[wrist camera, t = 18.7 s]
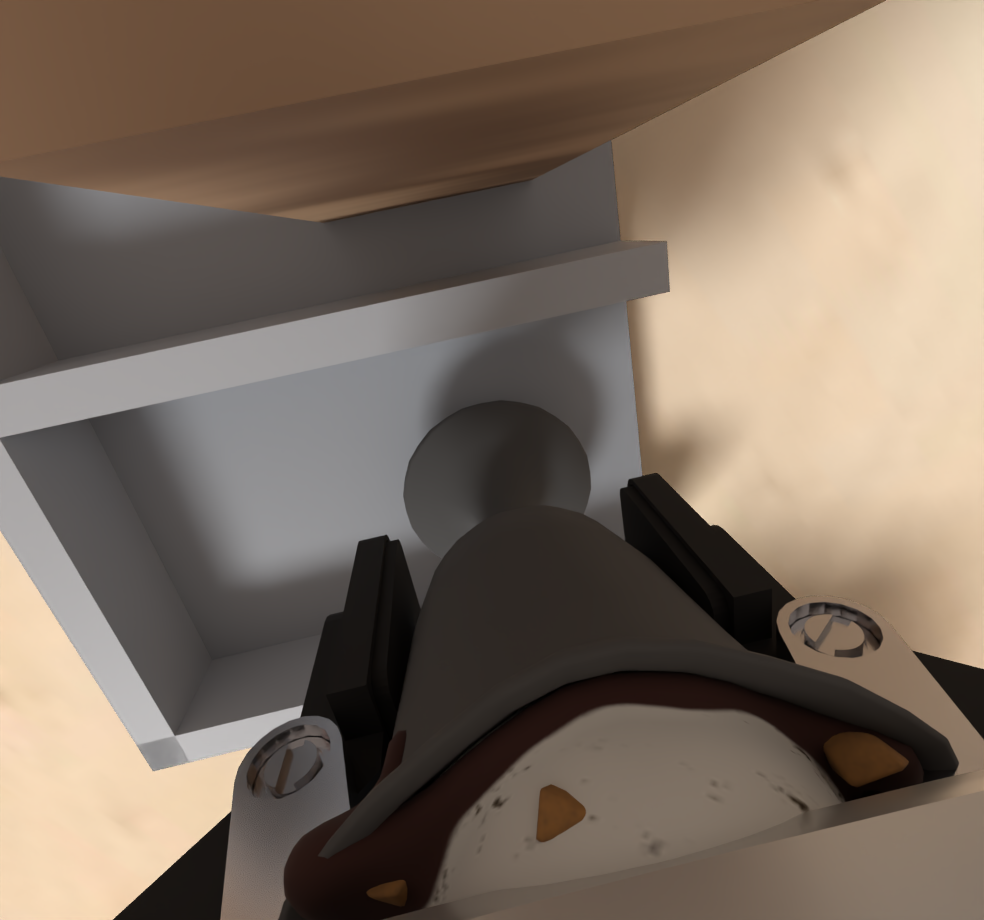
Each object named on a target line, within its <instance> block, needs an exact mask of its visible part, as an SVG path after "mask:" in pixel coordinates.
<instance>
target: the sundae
mask: <svg viewBox="0 0 984 920" xmlns="http://www.w3.org/2000/svg"><path fill="white" fill-rule="evenodd" d="M590 491H591V476H590V468H589V463H588V457H587V454H586V452H585V451H584V449H583V447H582V445H581V443H580V441H579V440H578V438H577V437H576V436H575V434H574V433H573V431H572V430H571V429H570V427H569V426H568V425H566V424H565V423H564V422H562V421H561V420H560V419H558V418H557V417H556V416H554V415H552V414H551V413H549V412H547V411H545V410H544V409H542V408H540V407H538V406H534V405H530V404H525V403H521V402H514V401H505V400H498V401H491V402H485V403H480V404H476V405H472V406H469V407H465V408H462V409H460V410H459V411H457V412H455V413H453V414H452V415H450V416H448V417H447V418H445V419H444V420H442V421H441V422H440V423H438V424H437V425H436V426H434V427H433V428H432V429H430V430H429V432H428V433H427V434H426V436H425V437H424V438H423V440H422V441H421V442H420V443H419V445H418V446H417V448H416V450H415V452H414V453H413V455H412V457H411V459H410V460H409V463H408V467H407V471H406V476H405V482H404V492H403V498H404V503H405V508H406V512H407V515H408V518H409V521H410V524H411V527H412V529H413V530H414V531H415V533H416V534H417V536H418V537H419V538H420V540H421V541H422V542H423V543H424V544H425V545H426V546H427V547H428V548H429V549H430V551H431V552H432V553H433V554H435V555H437V556H438V557H440V558H442V560H441V562H440V564H439V565H438V567H437V568H436V570H435V572H434V575H433V577H432V580H431V583H430V586H429V588H428V591H427V594H426V597H425V599H424V602H423V605H422V608H421V610H420V614H419V617H418V620H417V623H416V626H415V630H414V633H413V638H412V643H411V648H410V653H409V658H408V663H407V667H406V672H405V677H404V682H403V687H402V692H401V697H400V702H399V707H398V712H397V717H396V722H395V727H394V732H393V737H392V740H391V741H390V743H389V745H388V749H387V753H386V757H385V762H384V766H383V770H382V773H381V776H380V778H379V780H378V781H377V783H376V784H375V786H374V788H373V789H372V790H371V791H370V792H369V793H368V795H367V796H366V797H365V798H364V799H363V800H362V801H361V802H360V803H359V804H358V805H356V806H355V807H353V808H352V809H350V810H348V811H346V812H344V813H342V814H340V815H338V816H336V817H334V818H332V819H330V820H328V821H326V822H324V823H322V824H320V825H319V826H317V827H316V828H314V829H312V830H311V831H309V832H308V833H306V834H305V835H303V836H302V837H301V838H300V840H299V841H298V842H297V843H296V845H295V846H294V847H293V849H292V851H291V853H290V855H289V857H288V860H287V862H286V865H285V868H284V879H283V884H284V894H285V897H286V899H285V901H284V903H283V906H282V909H281V912H280V915H279V919H278V920H383V919H387V918H390V917H394V916H398V915H402V914H406V913H410V912H414V911H417V910H421V909H425V908H429V907H433V906H437V905H441V904H444V903H448V902H452V901H456V900H460V899H464V898H467V897H471V896H475V895H479V894H483V893H487V892H491V891H494V890H501V889H512V888H521V887H529V886H538V885H546V884H552V883H558V882H563V881H569V880H574V879H580V878H586V877H592V876H598V875H603V874H608V873H612V872H617V871H622V870H626V869H631V868H636V867H640V866H645V865H650V864H654V863H659V862H663V861H667V860H671V859H674V858H678V857H681V856H685V855H688V854H692V853H695V852H699V851H703V850H706V849H709V848H713V847H716V846H719V845H722V844H725V843H728V842H731V841H735V840H738V839H741V838H744V837H747V836H750V835H753V834H755V833H758V832H761V831H763V830H766V829H768V828H771V827H773V826H776V825H778V824H781V823H783V822H785V821H787V820H789V819H791V818H793V817H795V816H797V815H799V814H801V813H804V812H808V811H812V810H816V809H820V808H824V807H828V806H832V805H836V804H840V803H844V802H848V801H852V800H856V799H860V798H861V796H862V794H863V791H866V790H874V791H880V792H883V793H885V792H889V791H893V790H897V789H901V788H905V787H909V786H913V785H917V784H921V783H922V782H923V776H924V771H923V769H925V770H929V771H932V770H957V768H958V766H959V761H958V759H957V757H956V755H955V753H954V751H953V749H952V747H951V745H950V743H949V740H948V738H946V737H945V736H944V735H942V734H941V733H939V732H938V731H937V730H935V729H934V728H932V727H931V726H929V725H928V724H927V723H925V722H924V721H922V720H921V719H919V718H918V717H917V716H915V715H914V714H912V713H911V712H909V711H908V710H906V709H904V708H902V707H900V706H898V705H896V704H894V703H893V702H891V701H889V700H887V699H885V698H883V697H881V696H879V695H877V694H875V693H873V692H871V691H869V690H868V689H866V688H864V687H862V686H860V685H858V684H856V683H854V682H852V681H850V680H848V679H845V678H843V677H840V676H837V675H833V674H830V673H826V672H823V671H820V670H816V669H813V668H809V667H806V666H802V665H799V664H796V663H792V662H789V661H785V660H782V659H778V658H775V657H772V656H768V655H764V654H760V653H756V652H751V651H748V650H747V649H745V648H744V647H743V646H742V645H741V644H740V643H739V642H737V641H736V640H735V639H734V638H733V637H732V636H731V635H729V634H728V633H727V632H726V631H725V630H724V629H723V628H722V627H721V626H720V625H719V624H718V623H717V622H716V621H715V620H714V619H712V618H711V617H710V616H709V615H708V614H707V613H706V612H705V611H704V610H703V609H702V608H701V607H700V606H699V605H698V604H697V603H696V602H695V601H694V600H693V599H692V598H690V597H689V596H688V595H687V594H686V593H685V592H684V591H683V590H682V589H681V588H680V587H679V586H678V585H677V584H676V583H675V582H674V581H673V580H672V579H671V578H669V577H668V576H667V575H666V574H665V573H664V572H663V571H662V570H661V569H660V568H659V567H658V566H657V565H656V564H655V563H654V562H653V561H652V560H651V559H649V558H648V557H647V556H645V555H644V554H642V553H641V552H640V551H638V550H637V549H635V548H634V547H633V546H631V545H630V544H628V543H627V542H626V541H624V540H623V539H621V538H620V537H619V536H617V535H616V534H614V533H613V532H612V531H610V530H609V529H607V528H606V527H605V526H603V525H602V524H600V523H599V522H597V521H596V520H594V519H592V518H590V517H588V516H586V515H584V513H585V510H586V507H587V504H588V500H589V496H590Z"/></svg>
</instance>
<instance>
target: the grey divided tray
mask: <svg viewBox="0 0 984 920" xmlns="http://www.w3.org/2000/svg"><path fill="white" fill-rule="evenodd" d="M666 292H670V286H669V270H668V254H667V241H621V240H620V230H619V219H618V208H617V197H616V187H615V176H614V165H613V154H612V144H611V140H610V141H608V142H606V143H604V144H602V145H600V146H598V147H596V148H594V149H592V150H590V151H588V152H586V153H584V154H582V155H580V156H578V157H576V158H574V159H573V160H571V161H569V162H567V163H565V164H563V165H561V166H559V167H557V168H555V169H553V170H551V171H549V172H547V173H545V174H543V175H541V176H539V177H537V178H535V179H533V180H530V181H525V182H520V183H515V184H510V185H505V186H500V187H496V188H491V189H486V190H481V191H476V192H471V193H466V194H462V195H457V196H452V197H447V198H442V199H437V200H432V201H428V202H423V203H418V204H413V205H408V206H403V207H398V208H393V209H389V210H384V211H379V212H374V213H369V214H364V215H359V216H355V217H350V218H345V219H340V220H335V221H330V222H325V223H321V222H314V221H307V220H300V219H293V218H286V217H279V216H272V215H265V214H258V213H251V212H244V211H237V210H230V209H223V208H216V207H209V206H202V205H195V204H188V203H181V202H174V201H167V200H161V199H154V198H147V197H140V196H133V195H126V194H119V193H112V192H105V191H98V190H91V189H84V188H77V187H70V186H63V185H56V184H49V183H42V182H35V181H28V180H21V179H14V178H7V177H0V531H1V532H2V534H3V536H4V537H5V539H6V540H7V542H8V544H9V545H10V547H11V548H12V550H13V551H14V553H15V555H16V556H17V558H18V559H19V561H20V562H21V564H22V566H23V567H24V569H25V570H26V572H27V573H28V575H29V577H30V578H31V580H32V581H33V583H34V584H35V586H36V588H37V589H38V591H39V592H40V594H41V596H42V597H43V599H44V600H45V602H46V603H47V605H48V607H49V608H50V610H51V611H52V613H53V614H54V616H55V618H56V619H57V621H58V622H59V624H60V625H61V627H62V629H63V630H64V632H65V633H66V635H67V636H68V638H69V640H70V641H71V643H72V644H73V646H74V647H75V649H76V651H77V652H78V654H79V655H80V657H81V659H82V660H83V662H84V663H85V665H86V666H87V668H88V670H89V671H90V673H91V674H92V676H93V677H94V679H95V681H96V682H97V684H98V685H99V687H100V688H101V690H102V692H103V693H104V695H105V696H106V698H107V699H108V701H109V703H110V704H111V706H112V707H113V709H114V711H115V712H116V714H117V715H118V717H119V718H120V720H121V722H122V723H123V725H124V726H125V728H126V729H127V731H128V733H129V734H130V736H131V737H132V739H133V740H134V742H135V744H136V745H137V747H138V748H139V750H140V751H141V753H142V755H143V756H144V758H145V759H146V761H147V762H148V764H149V766H150V767H151V769H152V770H153V771H156V770H160V769H165V768H169V767H173V766H177V765H181V764H185V763H189V762H193V761H197V760H202V759H206V758H210V757H214V756H218V755H222V754H226V753H230V752H234V751H239V750H243V749H247V748H251V747H253V746H254V745H255V744H256V743H257V742H258V741H259V740H260V739H261V738H262V737H264V736H265V735H266V734H268V733H269V732H270V731H271V730H273V729H274V728H276V727H278V726H280V725H282V724H284V723H286V722H288V721H290V720H293V719H297V718H300V716H301V712H302V708H303V705H304V701H305V697H306V693H307V689H308V685H309V681H310V677H311V673H312V669H313V665H314V662H315V658H316V654H317V650H318V646H319V642H320V638H321V634H322V630H323V626H324V623H325V620H326V618H327V616H329V615H330V614H335V613H339V612H343V611H344V607H345V602H346V597H347V592H348V588H349V583H350V578H351V574H352V569H353V564H354V560H355V555H356V550H357V545H358V542H359V541H361V540H365V539H370V538H374V537H378V536H383V535H388V537H389V539H390V541H393V540H397V539H399V540H400V543H401V545H402V549H403V552H404V555H405V558H406V562H407V565H408V568H409V572H410V575H411V578H412V582H413V585H414V588H415V592H416V595H417V598H418V602H419V605H420V608H422V605H423V602H424V599H425V597H426V594H427V591H428V588H429V586H430V583H431V580H432V577H433V575H434V572H435V570H436V568H437V567H438V565H439V564H440V562H441V560H442V558H440V557H438V556H437V555H435V554H433V553H432V552H431V551H430V549H429V548H428V547H427V546H426V545H425V544H424V543H423V542H422V541H421V540H420V538H419V537H418V536H417V534H416V533H415V531H414V530H413V529H412V527H411V524H410V521H409V518H408V515H407V512H406V508H405V503H404V498H403V492H404V482H405V476H406V471H407V467H408V463H409V460H410V459H411V457H412V455H413V453H414V452H415V450H416V448H417V446H418V445H419V443H420V442H421V441H422V440H423V438H424V437H425V436H426V434H427V433H428V432H429V430H430V429H432V428H433V427H434V426H436V425H437V424H438V423H440V422H441V421H442V420H444V419H445V418H447V417H448V416H450V415H452V414H453V413H455V412H457V411H459V410H460V409H462V408H465V407H469V406H472V405H476V404H480V403H485V402H491V401H498V400H505V401H514V402H521V403H525V404H530V405H534V406H538V407H540V408H542V409H544V410H545V411H547V412H549V413H551V414H552V415H554V416H556V417H557V418H558V419H560V420H561V421H562V422H564V423H565V424H566V425H568V426H569V427H570V429H571V430H572V431H573V433H574V434H575V436H576V437H577V438H578V440H579V441H580V443H581V445H582V447H583V449H584V451H585V452H586V454H587V457H588V463H589V468H590V476H591V491H590V496H589V500H588V504H587V507H586V510H585V513H584V515H586V516H588V517H590V518H592V519H594V520H596V521H597V522H599V523H600V524H602V525H603V526H605V527H606V528H607V529H609V530H610V531H612V532H613V533H614V534H616V535H617V536H619V537H620V538H621V539H623V540H624V541H625V536H624V528H623V519H622V510H621V501H620V489H621V488H624V487H627V484H628V480H629V479H632V478H636V477H640V476H642V467H641V456H640V445H639V434H638V424H637V413H636V402H635V391H634V380H633V370H632V359H631V348H630V337H629V327H628V316H627V305H626V301H629V300H634V299H638V298H643V297H647V296H652V295H657V294H661V293H666Z"/></svg>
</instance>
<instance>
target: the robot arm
mask: <svg viewBox="0 0 984 920" xmlns="http://www.w3.org/2000/svg"><path fill="white" fill-rule="evenodd" d="M620 501H621V510H622V519H623V528H624V536H625V541H626V542H627V543H628V544H630V545H631V546H633V547H634V548H635V549H637V550H638V551H640V552H641V553H642V554H644V555H645V556H647V557H648V558H649V559H651V560H652V561H653V562H654V563H655V564H656V565H657V566H658V567H659V568H660V569H661V570H662V571H663V572H664V573H665V574H666V575H667V576H668V577H669V578H671V579H672V580H673V581H674V582H675V583H676V584H677V585H678V586H679V587H680V588H681V589H682V590H683V591H684V592H685V593H686V594H687V595H688V596H689V597H690V598H692V599H693V600H694V601H695V602H696V603H697V604H698V605H699V606H700V607H701V608H702V609H703V610H704V611H705V612H706V613H707V614H708V615H709V616H710V617H711V618H712V619H714V620H715V621H716V622H717V623H718V624H719V625H720V626H721V627H722V628H723V629H724V630H725V631H726V632H727V633H728V634H729V635H731V636H732V637H733V638H734V639H735V640H736V641H737V642H739V643H740V644H741V645H742V646H743V647H744V648H745V649H747V650H748V651H751V652H756V653H760V654H764V655H768V656H772V657H775V658H778V659H782V660H785V661H789V662H792V663H796V664H799V665H802V666H806V667H809V668H813V669H816V670H820V671H823V672H826V673H830V674H833V675H837V676H840V677H843V678H845V679H848V680H850V681H852V682H854V683H856V684H858V685H860V686H862V687H864V688H866V689H868V690H869V691H871V692H873V693H875V694H877V695H879V696H881V697H883V698H885V699H887V700H889V701H891V702H893V703H894V704H896V705H898V706H900V707H902V708H904V709H906V710H908V711H909V712H911V713H912V714H914V715H915V716H917V717H918V718H919V719H921V720H922V721H924V722H925V723H927V724H928V725H929V726H931V727H932V728H934V729H935V730H937V731H938V732H939V733H941V734H942V735H944V736H945V737H946V738H948V740H949V743H950V745H951V747H952V749H953V751H954V753H955V755H956V757H957V759H958V761H959V766H958V768H957V770H932V771H929V770H925V769H923V771H924V776H923V782H922V783H921V784H917V785H913V786H909V787H905V788H901V789H897V790H893V791H889V792H885V793H883V792H880V791H874V790H866V791H863V794H862V796H861V798H860V799H856V800H852V801H848V802H844V803H840V804H836V805H832V806H828V807H824V808H820V809H816V810H812V811H808V812H804V813H801V814H799V815H797V816H795V817H793V818H791V819H789V820H787V821H785V822H783V823H781V824H778V825H776V826H773V827H771V828H768V829H766V830H763V831H761V832H758V833H755V834H753V835H750V836H747V837H744V838H741V839H738V840H735V841H731V842H728V843H725V844H722V845H719V846H716V847H713V848H709V849H706V850H703V851H699V852H695V853H692V854H688V855H685V856H681V857H678V858H674V859H671V860H667V861H663V862H659V863H654V864H650V865H645V866H640V867H636V868H631V869H626V870H622V871H617V872H612V873H608V874H603V875H598V876H592V877H586V878H580V879H574V880H569V881H563V882H558V883H552V884H546V885H538V886H529V887H521V888H512V889H501V890H494V891H491V892H487V893H483V894H479V895H475V896H471V897H467V898H464V899H460V900H456V901H452V902H448V903H444V904H441V905H437V906H433V907H429V908H425V909H421V910H417V911H414V912H410V913H406V914H402V915H398V916H394V917H390V918H387V919H383V920H984V669H980V668H976V667H973V666H969V665H965V664H961V663H957V662H953V661H950V660H946V659H942V658H938V657H934V656H930V655H927V654H923V653H919V652H915V651H912V650H911V649H910V648H909V647H908V645H907V644H906V643H905V642H904V640H903V639H902V638H901V637H900V635H899V634H898V633H897V632H896V630H895V629H894V628H893V627H892V625H891V624H890V623H889V622H888V621H886V620H885V619H884V618H883V617H882V616H881V615H880V614H879V613H877V612H875V611H874V610H872V609H870V608H868V607H867V606H865V605H862V604H860V603H857V602H854V601H851V600H848V599H844V598H839V597H833V596H808V597H802V598H797V599H795V598H794V597H793V596H792V595H791V594H790V593H789V592H788V591H787V590H786V589H785V588H783V587H782V586H781V585H780V584H779V583H778V582H777V581H776V580H775V579H774V578H773V577H772V576H771V575H770V574H769V573H768V572H767V571H766V570H765V569H764V568H763V567H762V566H761V565H760V564H759V563H758V562H757V561H756V560H755V559H754V558H753V557H752V556H751V555H749V554H748V553H747V552H746V551H745V550H744V549H743V548H742V547H741V546H740V545H739V544H738V543H737V542H736V541H735V540H734V539H733V538H732V537H731V536H730V535H729V534H728V533H727V532H726V531H725V530H724V529H722V528H721V527H720V526H718V525H712V526H710V525H709V524H708V523H707V522H706V521H705V520H704V519H703V518H702V517H701V516H700V515H699V514H698V513H697V512H696V511H695V510H694V509H693V508H692V507H691V506H690V505H689V504H688V503H687V502H686V501H685V500H684V499H683V498H682V497H681V496H680V495H679V494H678V493H677V492H676V491H675V490H674V489H673V488H672V487H671V486H670V485H669V484H668V483H667V482H666V481H665V480H664V479H663V478H662V477H661V476H660V475H659V474H657V473H654V474H649V475H645V476H640V477H636V478H632V479H629V480H628V484H627V487H624V488H621V489H620ZM420 610H421V608H420V605H419V602H418V598H417V595H416V592H415V588H414V585H413V582H412V578H411V575H410V572H409V568H408V565H407V562H406V558H405V555H404V552H403V549H402V545H401V543H400V540H399V539H397V540H393V541H390V539H389V537H388V535H383V536H378V537H374V538H370V539H365V540H361V541H359V542H358V545H357V550H356V555H355V560H354V564H353V569H352V574H351V578H350V583H349V588H348V592H347V597H346V602H345V607H344V611H343V612H339V613H335V614H330V615H329V616H327V618H326V620H325V623H324V626H323V630H322V634H321V638H320V642H319V646H318V650H317V654H316V658H315V662H314V665H313V669H312V673H311V677H310V681H309V685H308V689H307V693H306V697H305V701H304V705H303V708H302V712H301V716H300V718H297V719H293V720H290V721H288V722H286V723H284V724H282V725H280V726H278V727H276V728H274V729H273V730H271V731H270V732H269V733H268V734H266V735H265V736H264V737H262V738H261V739H260V740H259V741H258V742H257V743H256V744H255V745H254V746H253V747H252V749H251V750H250V751H249V752H248V753H247V754H246V756H245V758H244V759H243V761H242V763H241V765H240V766H239V768H238V771H237V775H236V779H235V782H234V791H233V801H232V810H231V812H230V813H229V814H228V815H227V816H226V817H224V818H223V819H222V820H221V821H220V822H219V823H218V824H217V825H216V826H215V827H214V828H212V829H211V830H210V831H209V832H208V833H207V834H206V835H205V836H204V837H203V838H201V839H200V840H199V841H198V842H197V843H196V844H195V845H194V846H193V847H192V848H191V849H189V850H188V851H187V852H186V853H185V854H184V855H183V856H182V857H181V858H180V859H179V860H177V861H176V862H175V863H174V864H173V865H172V866H171V867H170V868H169V869H168V870H167V871H165V872H164V873H163V874H162V875H161V876H160V877H159V878H158V879H157V880H156V881H155V882H153V883H152V884H151V885H150V886H149V887H148V888H147V889H146V890H145V891H144V892H143V893H141V894H140V895H139V896H138V897H137V898H136V899H135V900H134V901H133V902H132V903H131V904H129V905H128V906H127V907H126V908H125V909H124V910H123V911H122V912H121V913H120V914H119V915H117V916H116V917H115V918H114V919H113V920H278V919H279V915H280V912H281V909H282V906H283V903H284V901H285V899H286V897H285V894H284V884H283V879H284V868H285V865H286V862H287V860H288V857H289V855H290V853H291V851H292V849H293V847H294V846H295V845H296V843H297V842H298V841H299V840H300V838H301V837H302V836H303V835H305V834H306V833H308V832H309V831H311V830H312V829H314V828H316V827H317V826H319V825H320V824H322V823H324V822H326V821H328V820H330V819H332V818H334V817H336V816H338V815H340V814H342V813H344V812H346V811H348V810H350V809H352V808H353V807H355V806H356V805H358V804H359V803H360V802H361V801H362V800H363V799H364V798H365V797H366V796H367V795H368V793H369V792H370V791H371V790H372V789H373V788H374V786H375V784H376V783H377V781H378V780H379V778H380V776H381V773H382V770H383V766H384V762H385V757H386V753H387V749H388V745H389V743H390V741H391V740H392V737H393V732H394V727H395V722H396V717H397V712H398V707H399V702H400V697H401V692H402V687H403V682H404V677H405V672H406V667H407V663H408V658H409V653H410V648H411V643H412V638H413V633H414V630H415V626H416V623H417V620H418V617H419V614H420Z"/></svg>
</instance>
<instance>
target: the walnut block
mask: <svg viewBox="0 0 984 920" xmlns="http://www.w3.org/2000/svg"><path fill="white" fill-rule="evenodd" d="M884 1H886V0H0V177H7V178H14V179H21V180H28V181H35V182H42V183H49V184H56V185H63V186H70V187H77V188H84V189H91V190H98V191H105V192H112V193H119V194H126V195H133V196H140V197H147V198H154V199H161V200H167V201H174V202H181V203H188V204H195V205H202V206H209V207H216V208H223V209H230V210H237V211H244V212H251V213H258V214H265V215H272V216H279V217H286V218H293V219H300V220H307V221H314V222H321V223H325V222H330V221H335V220H340V219H345V218H350V217H355V216H359V215H364V214H369V213H374V212H379V211H384V210H389V209H393V208H398V207H403V206H408V205H413V204H418V203H423V202H428V201H432V200H437V199H442V198H447V197H452V196H457V195H462V194H466V193H471V192H476V191H481V190H486V189H491V188H496V187H500V186H505V185H510V184H515V183H520V182H525V181H530V180H533V179H535V178H537V177H539V176H541V175H543V174H545V173H547V172H549V171H551V170H553V169H555V168H557V167H559V166H561V165H563V164H565V163H567V162H569V161H571V160H573V159H574V158H576V157H578V156H580V155H582V154H584V153H586V152H588V151H590V150H592V149H594V148H596V147H598V146H600V145H602V144H604V143H606V142H608V141H610V140H612V139H614V138H616V137H618V136H620V135H622V134H624V133H626V132H628V131H630V130H632V129H634V128H636V127H637V126H639V125H641V124H643V123H645V122H647V121H649V120H651V119H653V118H655V117H657V116H659V115H661V114H663V113H665V112H667V111H669V110H671V109H673V108H675V107H677V106H679V105H681V104H683V103H685V102H687V101H689V100H691V99H693V98H695V97H697V96H699V95H701V94H702V93H704V92H706V91H708V90H710V89H712V88H714V87H716V86H718V85H720V84H722V83H724V82H726V81H728V80H730V79H732V78H734V77H736V76H738V75H740V74H742V73H744V72H746V71H748V70H750V69H752V68H754V67H756V66H758V65H760V64H762V63H764V62H765V61H767V60H769V59H771V58H773V57H775V56H777V55H779V54H781V53H783V52H785V51H787V50H789V49H791V48H793V47H795V46H797V45H799V44H801V43H803V42H805V41H807V40H809V39H811V38H813V37H815V36H817V35H819V34H821V33H823V32H825V31H827V30H828V29H830V28H832V27H834V26H836V25H838V24H840V23H842V22H844V21H846V20H848V19H850V18H852V17H854V16H856V15H858V14H860V13H862V12H864V11H866V10H868V9H870V8H872V7H874V6H876V5H878V4H880V3H882V2H884Z"/></svg>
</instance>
